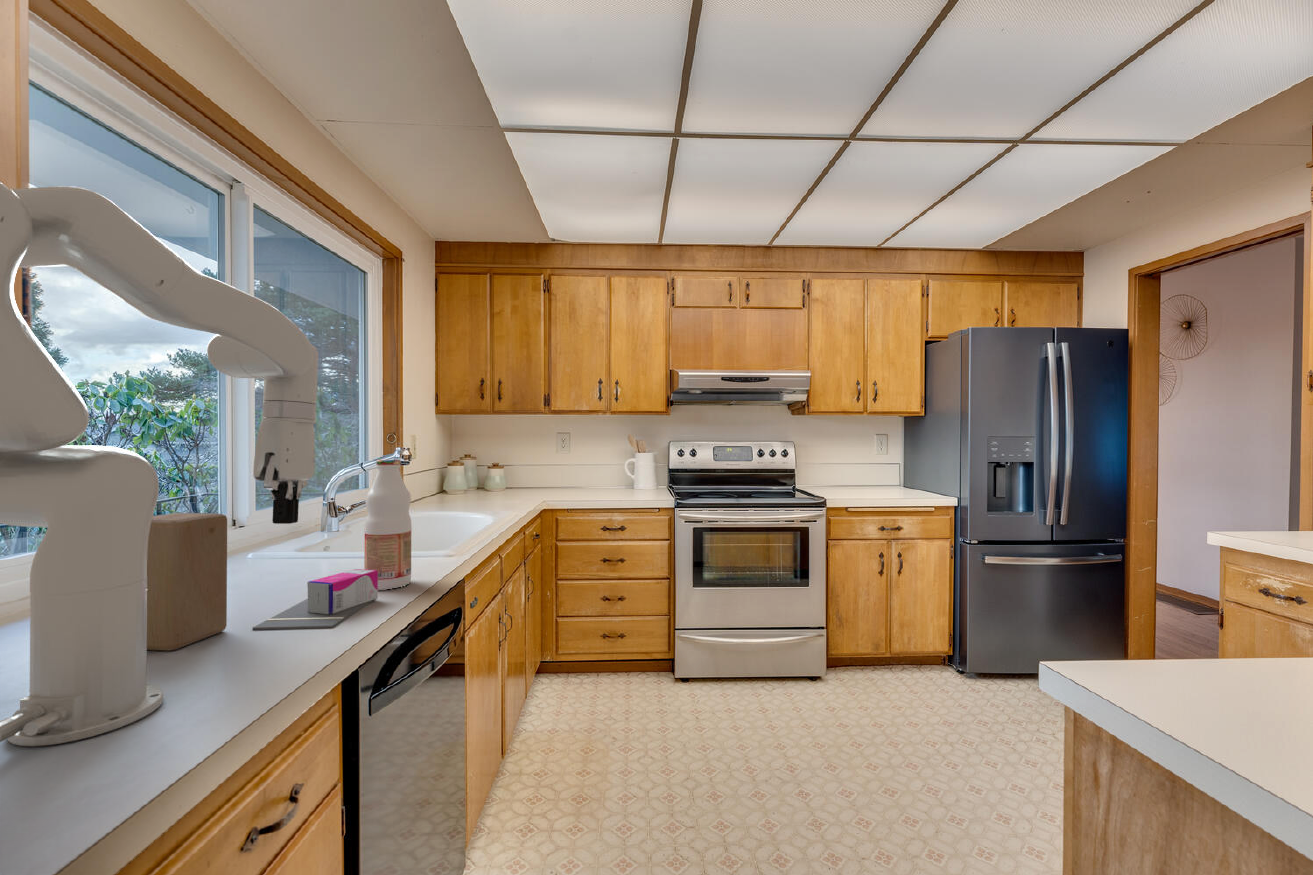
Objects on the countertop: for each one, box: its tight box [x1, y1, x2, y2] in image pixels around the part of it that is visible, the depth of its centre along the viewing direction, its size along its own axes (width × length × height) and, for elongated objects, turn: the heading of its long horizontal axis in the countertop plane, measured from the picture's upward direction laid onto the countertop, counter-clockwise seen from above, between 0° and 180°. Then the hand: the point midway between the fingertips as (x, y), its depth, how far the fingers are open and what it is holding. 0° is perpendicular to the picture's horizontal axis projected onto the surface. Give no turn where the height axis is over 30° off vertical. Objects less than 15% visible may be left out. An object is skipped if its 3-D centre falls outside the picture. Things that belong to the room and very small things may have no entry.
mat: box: [252, 598, 373, 631], centre depth 104 cm, size 18×13×1 cm
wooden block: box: [147, 512, 228, 652], centre depth 89 cm, size 10×10×20 cm
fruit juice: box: [363, 459, 413, 591], centre depth 123 cm, size 9×9×28 cm
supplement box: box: [307, 568, 379, 615], centre depth 107 cm, size 6×6×12 cm
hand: (285, 522), depth 93 cm, fingers closed
